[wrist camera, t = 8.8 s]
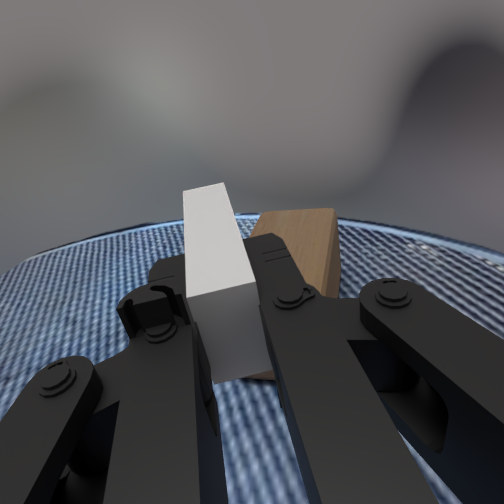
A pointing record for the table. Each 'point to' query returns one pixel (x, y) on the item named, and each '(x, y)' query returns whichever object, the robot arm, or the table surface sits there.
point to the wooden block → (307, 249)
